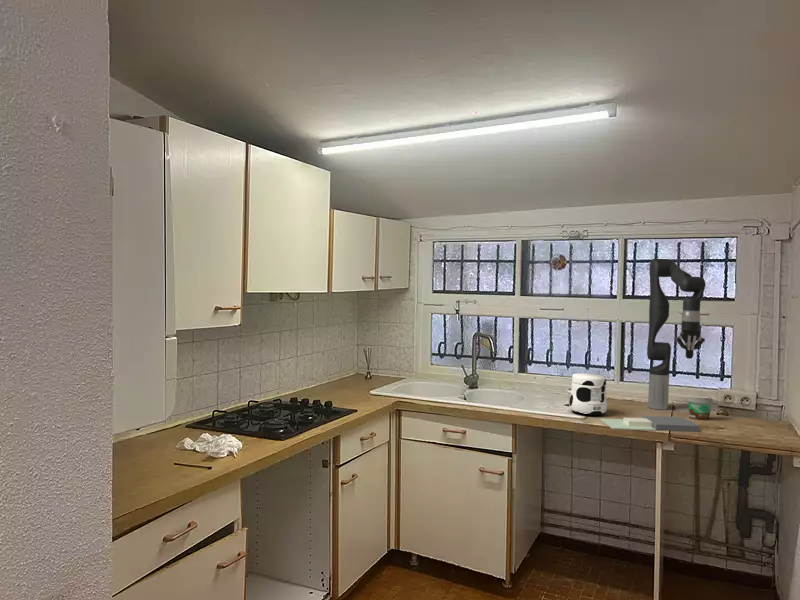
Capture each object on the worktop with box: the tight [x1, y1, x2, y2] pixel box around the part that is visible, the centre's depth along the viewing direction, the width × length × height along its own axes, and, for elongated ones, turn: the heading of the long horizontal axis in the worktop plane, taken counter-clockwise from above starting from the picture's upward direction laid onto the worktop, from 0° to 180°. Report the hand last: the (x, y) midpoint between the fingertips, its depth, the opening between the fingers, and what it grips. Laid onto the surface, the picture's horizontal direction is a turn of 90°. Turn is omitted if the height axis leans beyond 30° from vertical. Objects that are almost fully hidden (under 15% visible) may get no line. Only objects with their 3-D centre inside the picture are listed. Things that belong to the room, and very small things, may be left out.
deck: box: [641, 415, 700, 433], centre depth 261 cm, size 16×18×2 cm
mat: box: [600, 418, 656, 431], centre depth 262 cm, size 17×18×1 cm
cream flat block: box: [622, 417, 652, 427], centre depth 261 cm, size 7×10×2 cm
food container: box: [687, 395, 714, 421], centre depth 277 cm, size 12×6×10 cm, turn 105°
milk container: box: [568, 372, 608, 416], centre depth 283 cm, size 17×17×18 cm
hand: (689, 358), depth 271 cm, fingers closed
